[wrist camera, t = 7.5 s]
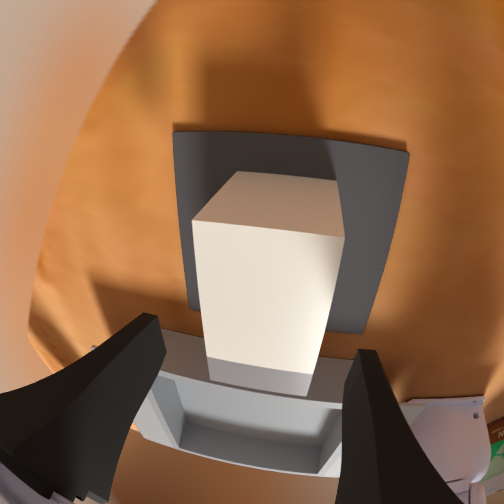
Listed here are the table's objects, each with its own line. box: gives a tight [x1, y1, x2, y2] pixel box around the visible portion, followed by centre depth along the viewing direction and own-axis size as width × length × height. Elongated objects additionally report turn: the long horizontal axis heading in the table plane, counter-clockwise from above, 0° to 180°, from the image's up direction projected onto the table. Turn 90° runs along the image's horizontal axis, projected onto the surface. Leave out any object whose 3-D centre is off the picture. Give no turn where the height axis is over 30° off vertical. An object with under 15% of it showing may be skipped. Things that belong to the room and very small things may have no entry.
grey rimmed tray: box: [91, 328, 426, 477], centre depth 25 cm, size 26×18×4 cm
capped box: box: [192, 171, 345, 396], centre depth 14 cm, size 5×9×6 cm, turn 179°
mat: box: [172, 131, 410, 335], centre depth 17 cm, size 12×12×1 cm
